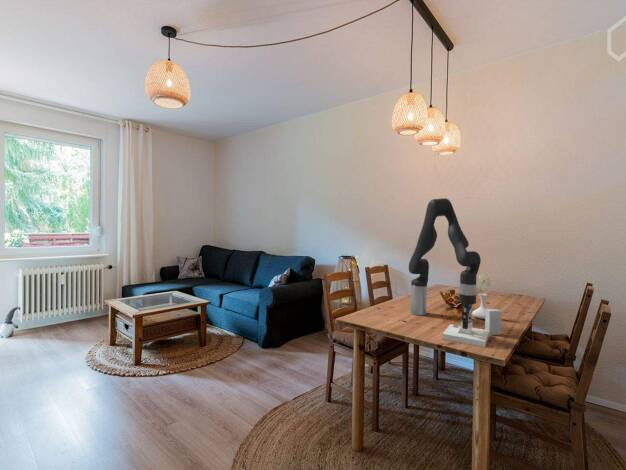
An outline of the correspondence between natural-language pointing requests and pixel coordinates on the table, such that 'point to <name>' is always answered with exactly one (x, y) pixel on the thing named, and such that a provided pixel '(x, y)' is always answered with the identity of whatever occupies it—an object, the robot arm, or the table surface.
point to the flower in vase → (482, 299)
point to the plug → (469, 330)
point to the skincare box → (493, 321)
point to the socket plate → (466, 336)
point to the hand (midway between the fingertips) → (466, 326)
